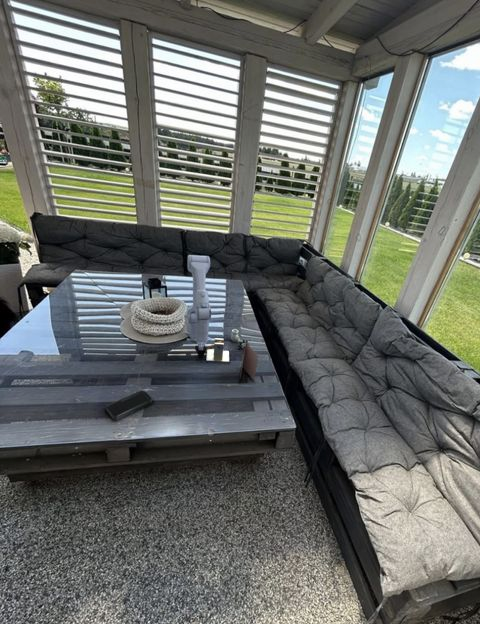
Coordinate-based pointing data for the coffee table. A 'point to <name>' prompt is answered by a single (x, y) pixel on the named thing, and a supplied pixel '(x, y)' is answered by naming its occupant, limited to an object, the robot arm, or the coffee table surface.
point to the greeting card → (249, 361)
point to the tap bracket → (218, 352)
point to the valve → (238, 339)
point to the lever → (213, 345)
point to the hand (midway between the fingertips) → (201, 353)
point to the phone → (128, 405)
